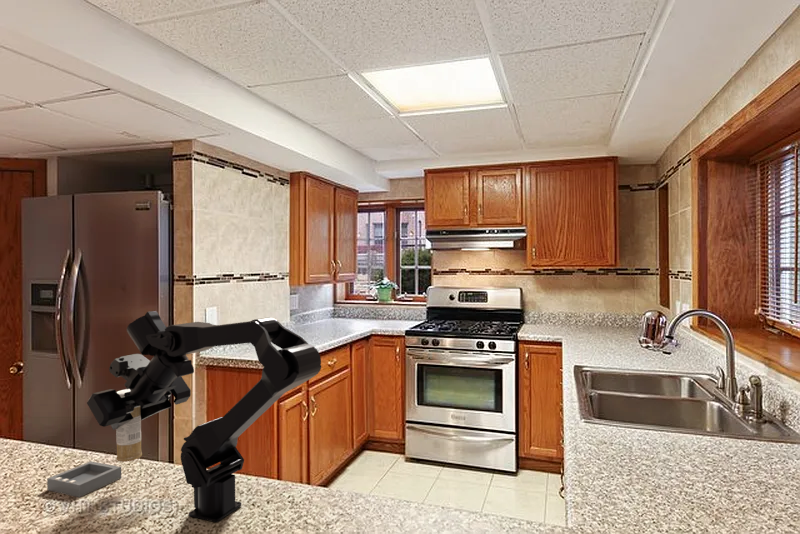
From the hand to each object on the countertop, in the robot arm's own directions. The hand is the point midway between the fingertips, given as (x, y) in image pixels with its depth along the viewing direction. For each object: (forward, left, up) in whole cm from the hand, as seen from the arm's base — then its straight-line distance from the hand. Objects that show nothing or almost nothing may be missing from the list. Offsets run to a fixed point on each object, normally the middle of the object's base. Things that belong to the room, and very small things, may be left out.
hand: (123, 424), depth 98 cm
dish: (+8, +2, -12) cm, 15 cm away
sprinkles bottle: (-1, 0, -7) cm, 7 cm away
